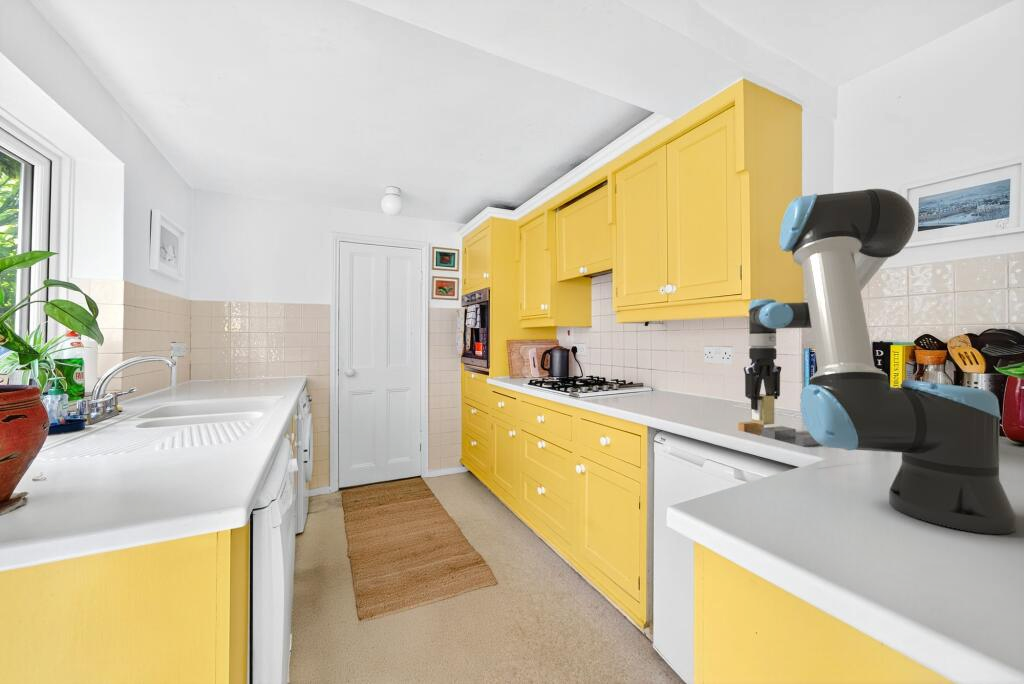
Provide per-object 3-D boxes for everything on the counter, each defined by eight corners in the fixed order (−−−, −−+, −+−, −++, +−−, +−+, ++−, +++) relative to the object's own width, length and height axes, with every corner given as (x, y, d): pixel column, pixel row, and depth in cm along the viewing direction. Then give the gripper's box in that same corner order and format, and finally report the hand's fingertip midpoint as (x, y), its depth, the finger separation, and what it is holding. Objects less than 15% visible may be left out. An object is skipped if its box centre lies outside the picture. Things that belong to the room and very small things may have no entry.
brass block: (763, 424, 128) (763, 396, 128) (751, 422, 132) (751, 394, 132) (774, 423, 129) (774, 395, 129) (761, 421, 134) (761, 394, 133)
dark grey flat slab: (803, 448, 114) (803, 437, 114) (738, 431, 135) (738, 422, 135) (825, 445, 116) (825, 435, 116) (758, 429, 137) (758, 420, 137)
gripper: (751, 348, 124) (751, 423, 125) (794, 347, 130) (794, 419, 130) (731, 347, 131) (731, 418, 132) (772, 346, 137) (772, 415, 137)
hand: (762, 419), depth 131 cm, fingers closed on brass block, 4 cm apart
